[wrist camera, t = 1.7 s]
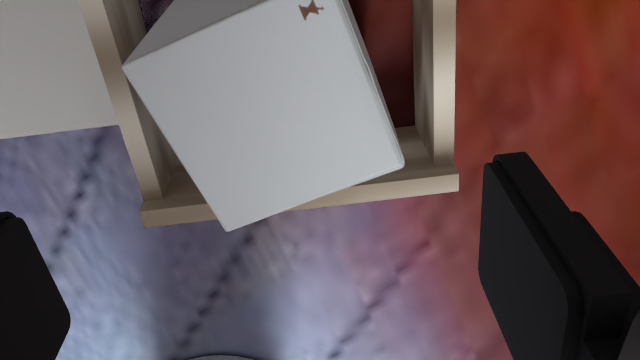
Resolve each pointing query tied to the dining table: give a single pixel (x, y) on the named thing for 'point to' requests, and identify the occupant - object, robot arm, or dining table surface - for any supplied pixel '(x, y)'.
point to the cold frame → (412, 180)
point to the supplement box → (265, 102)
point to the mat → (49, 70)
